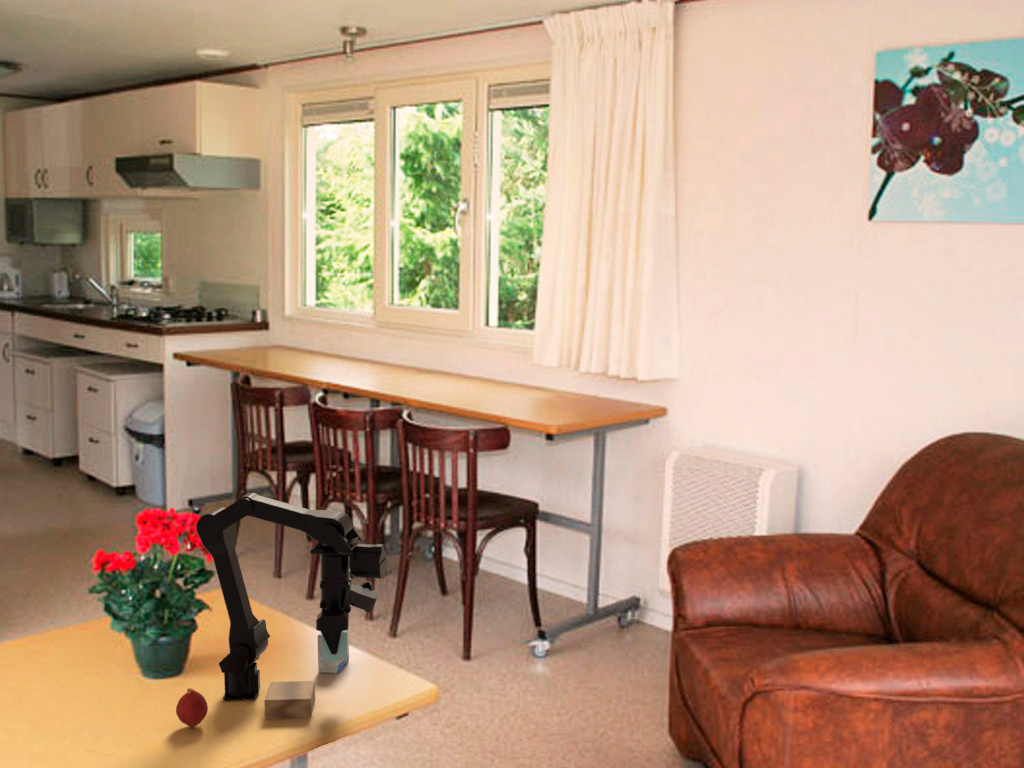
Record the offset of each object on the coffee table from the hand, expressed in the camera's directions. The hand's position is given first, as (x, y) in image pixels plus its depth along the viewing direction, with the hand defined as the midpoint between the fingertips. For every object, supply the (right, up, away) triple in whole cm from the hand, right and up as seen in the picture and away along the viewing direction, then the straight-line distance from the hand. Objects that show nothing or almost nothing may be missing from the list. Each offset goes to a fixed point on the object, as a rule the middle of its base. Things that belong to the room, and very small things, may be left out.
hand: (335, 649), depth 228 cm
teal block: (0, -2, 0) cm, 2 cm away
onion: (-26, -13, -11) cm, 31 cm away
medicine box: (-3, -9, +20) cm, 22 cm away
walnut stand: (-9, -12, -2) cm, 15 cm away
